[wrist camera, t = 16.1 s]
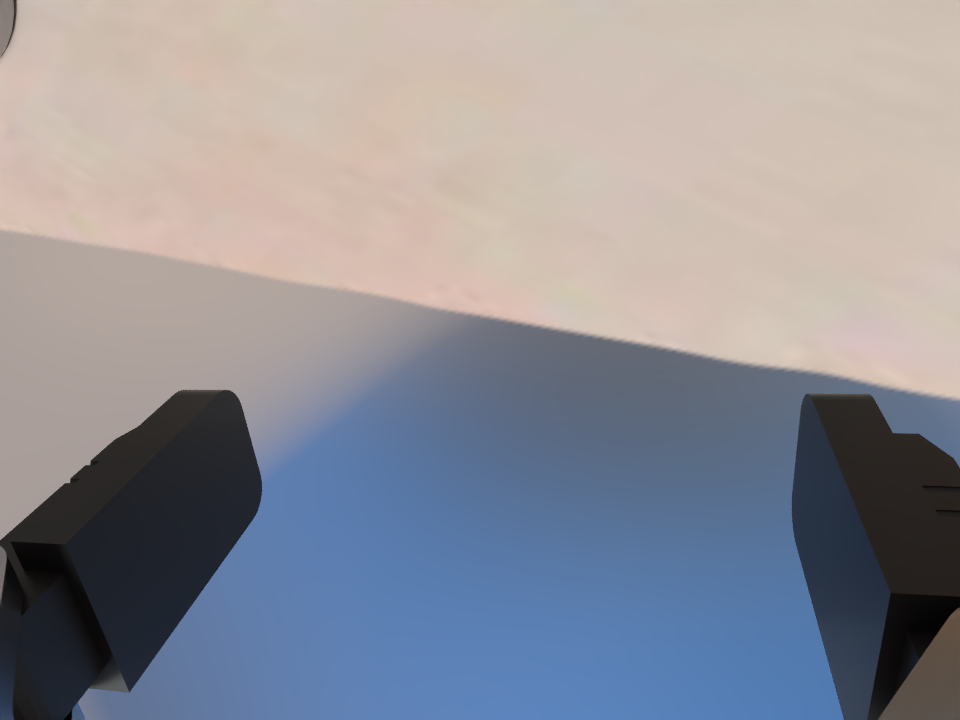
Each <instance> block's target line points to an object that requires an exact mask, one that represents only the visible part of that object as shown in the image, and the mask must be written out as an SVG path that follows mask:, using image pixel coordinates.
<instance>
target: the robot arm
mask: <svg viewBox="0 0 960 720" xmlns="http://www.w3.org/2000/svg"><path fill="white" fill-rule="evenodd" d="M13 18H14V2H13V0H0V57H1V55H2V54H3V52H4V51H5V49H6V47H7V45H8V42H9V39H10V36H11V33H12V27H13ZM261 495H262V481H261V475H260V471H259V467H258V464H257V460H256V457H255V453H254V449H253V446H252V442H251V438H250V435H249V431H248V427H247V424H246V420H245V417H244V413H243V409H242V406H241V403H240V401H239V399H238V397H237V396H236V395H235V394H234V393H233V392H231V391H229V390H181V391H178V392H177V393H175V394H174V395H173V396H172V397H171V398H170V399H169V400H167V401H166V402H165V403H164V404H163V405H162V406H161V407H160V408H158V409H157V410H156V411H155V412H154V413H153V414H152V415H151V416H150V417H148V418H147V419H146V420H145V421H144V422H143V423H142V424H141V425H139V426H138V427H137V428H135V429H133V430H131V431H129V432H128V433H126V434H124V435H122V436H121V437H119V438H117V439H115V440H114V441H113V442H112V443H110V444H109V445H108V446H107V447H106V448H105V449H104V450H102V451H101V452H100V453H99V454H98V455H97V456H96V457H94V458H93V459H92V460H91V464H90V465H85V466H84V467H83V468H82V469H81V470H80V471H79V472H77V473H76V474H75V475H74V476H73V477H72V478H71V481H70V483H65V484H64V485H63V486H62V487H60V488H59V489H58V490H57V491H56V492H55V493H54V494H53V495H51V496H50V497H49V498H48V499H47V500H46V501H44V502H43V503H42V504H41V505H40V506H39V507H38V508H37V509H35V510H34V511H33V512H32V513H31V514H30V515H29V516H28V517H26V518H25V519H24V520H23V521H22V522H21V523H20V524H18V525H17V526H16V527H15V528H14V529H13V530H12V531H10V532H9V533H8V534H7V535H6V536H5V537H4V538H2V539H1V540H0V720H85V716H84V714H83V712H82V710H81V708H80V706H79V704H78V701H79V700H80V698H81V697H82V696H83V695H84V693H85V692H86V691H87V689H88V688H91V689H101V690H110V691H120V692H130V691H131V689H132V688H133V686H134V685H135V684H136V682H137V681H138V680H139V678H140V677H141V675H142V674H143V673H144V671H145V670H146V668H147V667H148V666H149V664H150V663H151V661H152V660H153V659H154V657H155V656H156V654H157V653H158V651H159V650H160V649H161V647H162V646H163V645H164V643H165V642H166V640H167V639H168V638H169V636H170V635H171V633H172V632H173V631H174V629H175V628H176V626H177V625H178V623H179V622H180V621H181V619H182V618H183V617H184V615H185V614H186V612H187V611H188V609H189V608H190V607H191V605H192V604H193V603H194V601H195V600H196V598H197V597H198V596H199V594H200V593H201V591H202V590H203V589H204V587H205V586H206V584H207V583H208V582H209V580H210V579H211V577H212V576H213V575H214V573H215V572H216V570H217V569H218V567H219V566H220V565H221V563H222V562H223V561H224V559H225V558H226V556H227V555H228V554H229V552H230V551H231V549H232V548H233V547H234V545H235V544H236V542H237V541H238V540H239V538H240V537H241V535H242V534H243V533H244V531H245V530H246V528H247V527H248V525H249V524H250V523H251V521H252V520H253V519H254V517H255V515H256V513H257V511H258V508H259V504H260V501H261ZM792 522H793V531H794V537H795V542H796V546H797V549H798V553H799V557H800V561H801V563H802V568H803V571H804V575H805V579H806V582H807V586H808V590H809V593H810V597H811V600H812V604H813V608H814V611H815V615H816V619H817V622H818V626H819V630H820V633H821V637H822V641H823V644H824V648H825V652H826V655H827V659H828V662H829V666H830V670H831V673H832V677H833V681H834V684H835V688H836V692H837V695H838V699H839V703H840V706H841V710H842V713H843V717H844V720H960V468H959V466H958V465H957V463H956V461H955V460H954V458H952V457H951V456H949V455H948V454H947V453H945V452H944V451H942V450H941V449H940V448H938V447H937V446H935V445H934V444H932V443H931V442H930V441H928V440H927V439H925V438H924V437H923V436H921V435H920V434H897V433H892V431H891V429H890V427H889V425H888V424H887V422H886V420H885V418H884V417H883V414H882V413H881V411H880V409H879V407H878V406H877V404H876V402H875V400H874V398H873V397H872V396H871V395H870V394H806V395H805V396H804V399H803V402H802V406H801V413H800V423H799V432H798V442H797V452H796V462H795V472H794V481H793V492H792Z"/></svg>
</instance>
